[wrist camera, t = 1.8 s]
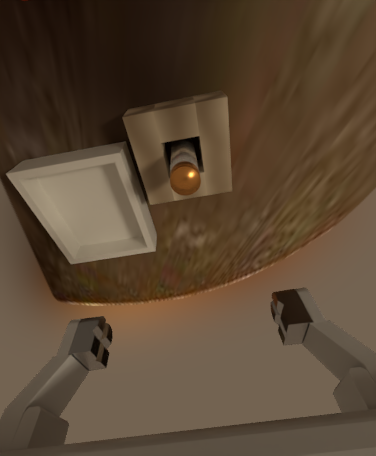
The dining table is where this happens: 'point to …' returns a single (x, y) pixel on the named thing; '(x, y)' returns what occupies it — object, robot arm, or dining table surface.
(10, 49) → the dining table surface
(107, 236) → the tray
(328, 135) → the dining table surface
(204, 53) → the dining table surface
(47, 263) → the dining table surface
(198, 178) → the pin
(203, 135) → the block
